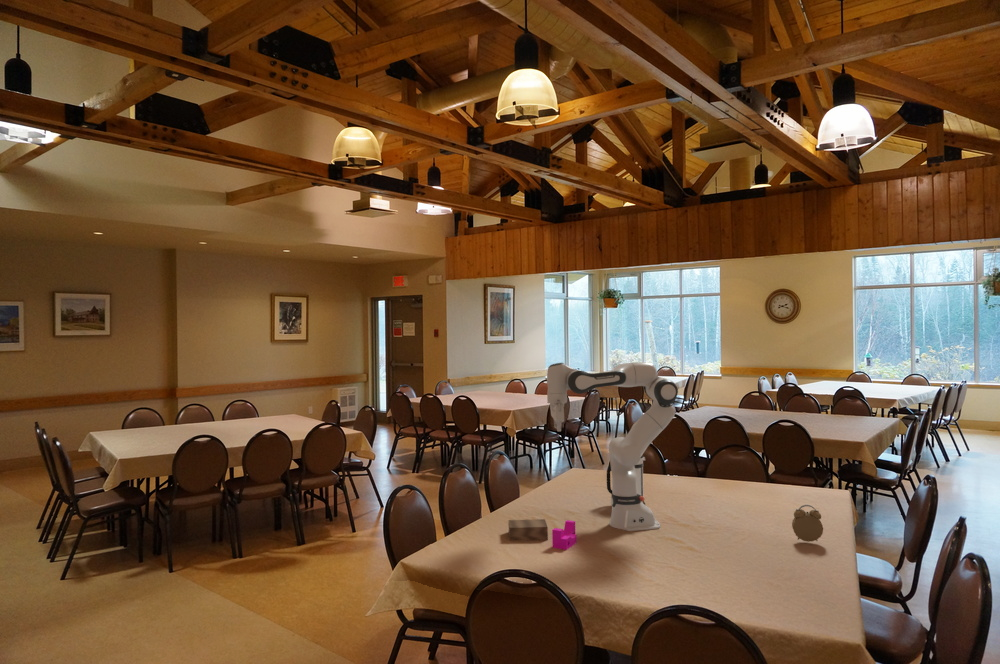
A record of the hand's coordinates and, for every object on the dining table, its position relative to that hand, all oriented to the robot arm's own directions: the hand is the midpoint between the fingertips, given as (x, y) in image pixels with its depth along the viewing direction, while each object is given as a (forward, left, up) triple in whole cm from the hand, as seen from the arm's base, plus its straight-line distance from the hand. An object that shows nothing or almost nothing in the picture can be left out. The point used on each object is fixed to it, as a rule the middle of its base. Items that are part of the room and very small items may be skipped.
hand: (557, 429), depth 279 cm
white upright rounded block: (-40, -35, -44) cm, 69 cm away
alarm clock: (-99, +27, -44) cm, 112 cm away
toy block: (0, +22, -44) cm, 49 cm away
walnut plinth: (+15, +12, -44) cm, 48 cm away
